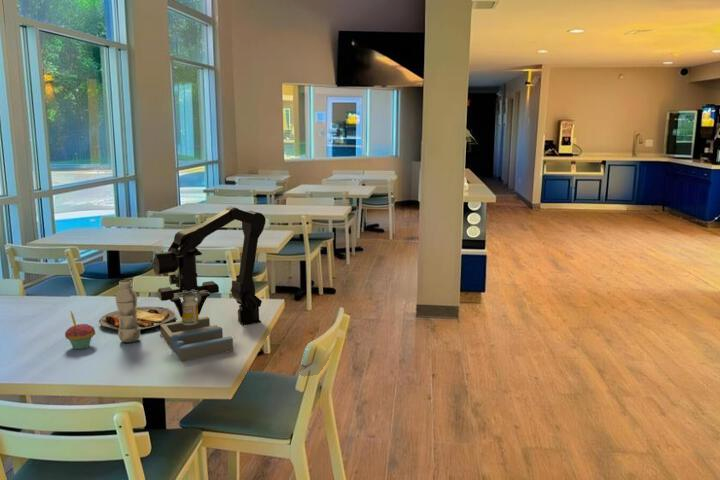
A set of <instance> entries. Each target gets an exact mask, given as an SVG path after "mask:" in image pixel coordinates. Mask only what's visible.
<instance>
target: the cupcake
mask: <svg viewBox="0 0 720 480" xmlns="http://www.w3.org/2000/svg"><path fill="white" fill-rule="evenodd" d="M70 316H71V320H72V323H73V325H72V326H69V327H68V329H66V330H65V332H64V336H65V339H66V340H68V341H69V342H70V344H71V347H72V349H74V350H83V349H87V348H89V347H90V345H91V340H92V338H93V337H94V336H95V335H96V330H95V328H94V326H92V325H91V324H88V323H87V324H86V323H79V324H77V323H76V318H75V316H74V313H73V312H72V310H70Z"/></svg>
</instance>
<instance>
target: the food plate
mask: <svg viewBox="0 0 720 480" xmlns="http://www.w3.org/2000/svg"><path fill="white" fill-rule="evenodd" d="M175 317H176V312H175V311H174V310H171V309H170V308H168V307H160V306H137V320H138V326H139V328H140V331H141V330H145V329H146V330H147V329H150V328H153V327H157V326H160V325H161V324H166V323H169V322H171V320H174V319H175ZM98 322H99V324H100V326H102V327H105V328H109V329H113V330H115V331H117V332H118V331H119V314H118V310H115V311H111V312H108V313H106V314H104V315H103V316H101V318H100V319H99V320H98Z"/></svg>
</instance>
